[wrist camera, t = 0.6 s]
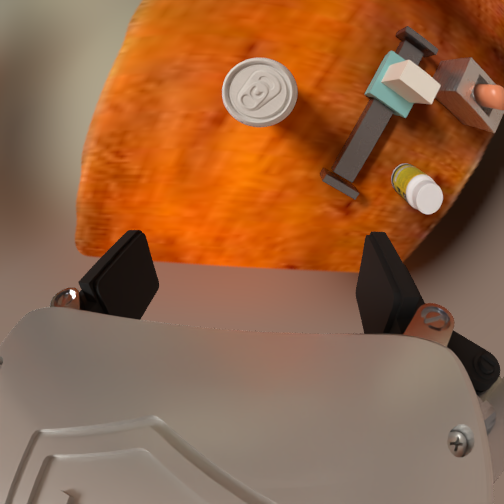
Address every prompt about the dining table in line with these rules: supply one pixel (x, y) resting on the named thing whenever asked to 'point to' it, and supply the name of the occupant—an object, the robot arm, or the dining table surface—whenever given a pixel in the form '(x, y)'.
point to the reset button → (489, 96)
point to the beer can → (259, 92)
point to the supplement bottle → (417, 188)
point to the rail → (372, 121)
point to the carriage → (401, 85)
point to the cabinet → (465, 93)
